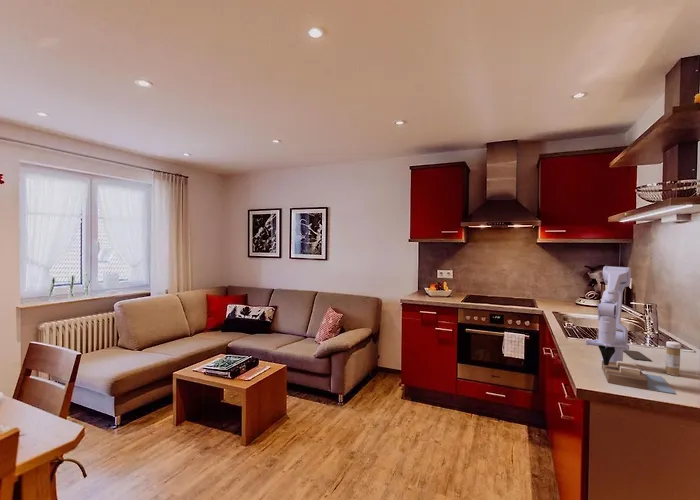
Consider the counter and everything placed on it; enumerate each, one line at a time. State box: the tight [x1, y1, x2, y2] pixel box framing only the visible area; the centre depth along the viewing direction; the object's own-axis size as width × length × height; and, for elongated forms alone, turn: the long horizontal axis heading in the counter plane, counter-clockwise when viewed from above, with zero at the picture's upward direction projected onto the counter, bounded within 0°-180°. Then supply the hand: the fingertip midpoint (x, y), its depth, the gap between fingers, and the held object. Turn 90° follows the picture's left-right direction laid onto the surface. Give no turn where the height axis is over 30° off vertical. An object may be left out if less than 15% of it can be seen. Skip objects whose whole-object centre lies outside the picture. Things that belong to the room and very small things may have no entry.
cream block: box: [617, 361, 641, 376], centre depth 142 cm, size 9×6×2 cm, turn 151°
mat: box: [643, 373, 677, 395], centre depth 138 cm, size 18×8×1 cm, turn 151°
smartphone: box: [623, 349, 653, 363], centre depth 170 cm, size 7×1×15 cm
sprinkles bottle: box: [664, 340, 682, 377], centre depth 147 cm, size 5×5×13 cm
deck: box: [601, 360, 648, 390], centre depth 143 cm, size 18×12×4 cm, turn 151°
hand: (605, 364), depth 145 cm, fingers closed
